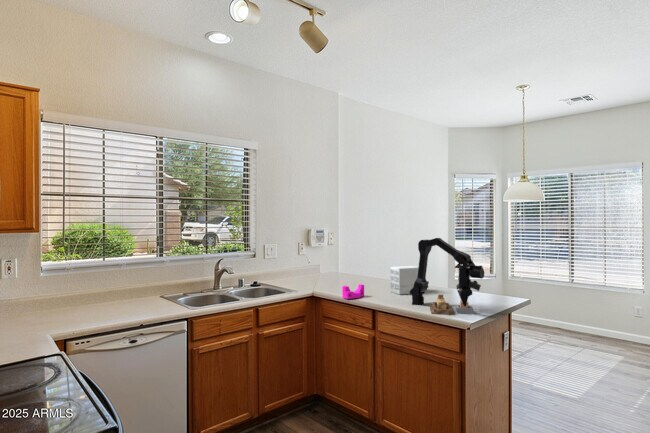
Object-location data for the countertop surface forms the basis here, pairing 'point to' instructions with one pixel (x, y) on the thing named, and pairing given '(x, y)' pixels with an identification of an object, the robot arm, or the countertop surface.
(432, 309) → the jig
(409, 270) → the white drawer cabinet
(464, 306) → the tail block
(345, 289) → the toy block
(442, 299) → the fuselage
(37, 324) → the countertop surface
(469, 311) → the tail socket
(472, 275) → the robot arm
